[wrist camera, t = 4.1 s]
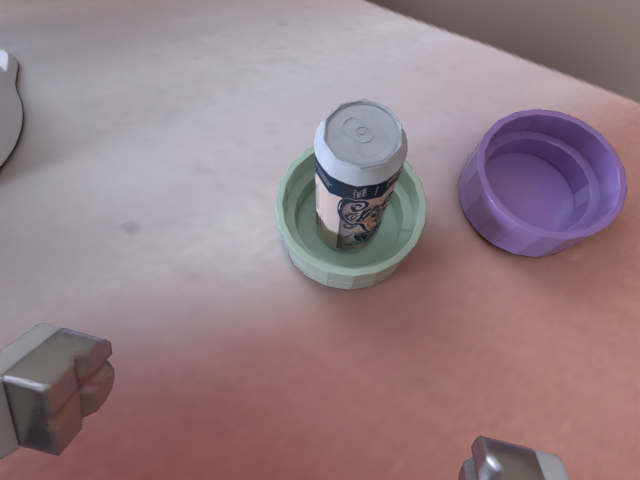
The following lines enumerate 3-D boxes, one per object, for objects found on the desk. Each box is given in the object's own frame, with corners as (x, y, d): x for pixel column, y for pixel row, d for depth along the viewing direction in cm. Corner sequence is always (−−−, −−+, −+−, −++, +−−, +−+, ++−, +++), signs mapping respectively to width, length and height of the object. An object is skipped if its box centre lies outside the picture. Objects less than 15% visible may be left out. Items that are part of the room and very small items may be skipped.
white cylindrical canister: (350, 266, 29) (369, 194, 18) (303, 226, 30) (293, 136, 19) (390, 221, 31) (431, 128, 19) (343, 185, 32) (356, 76, 20)
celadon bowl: (258, 254, 30) (248, 234, 26) (317, 151, 33) (317, 118, 29) (380, 314, 29) (390, 302, 24) (430, 200, 32) (447, 172, 27)
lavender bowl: (438, 224, 31) (457, 199, 27) (480, 126, 34) (503, 90, 30) (566, 280, 29) (608, 264, 25) (598, 172, 32) (640, 141, 28)
